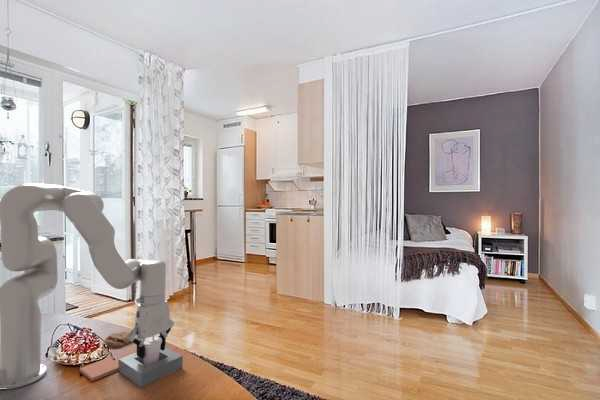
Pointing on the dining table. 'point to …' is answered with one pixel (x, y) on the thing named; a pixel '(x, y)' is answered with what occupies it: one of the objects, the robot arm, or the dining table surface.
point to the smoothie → (152, 349)
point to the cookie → (117, 340)
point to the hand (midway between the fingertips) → (151, 352)
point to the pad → (100, 369)
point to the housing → (149, 367)
